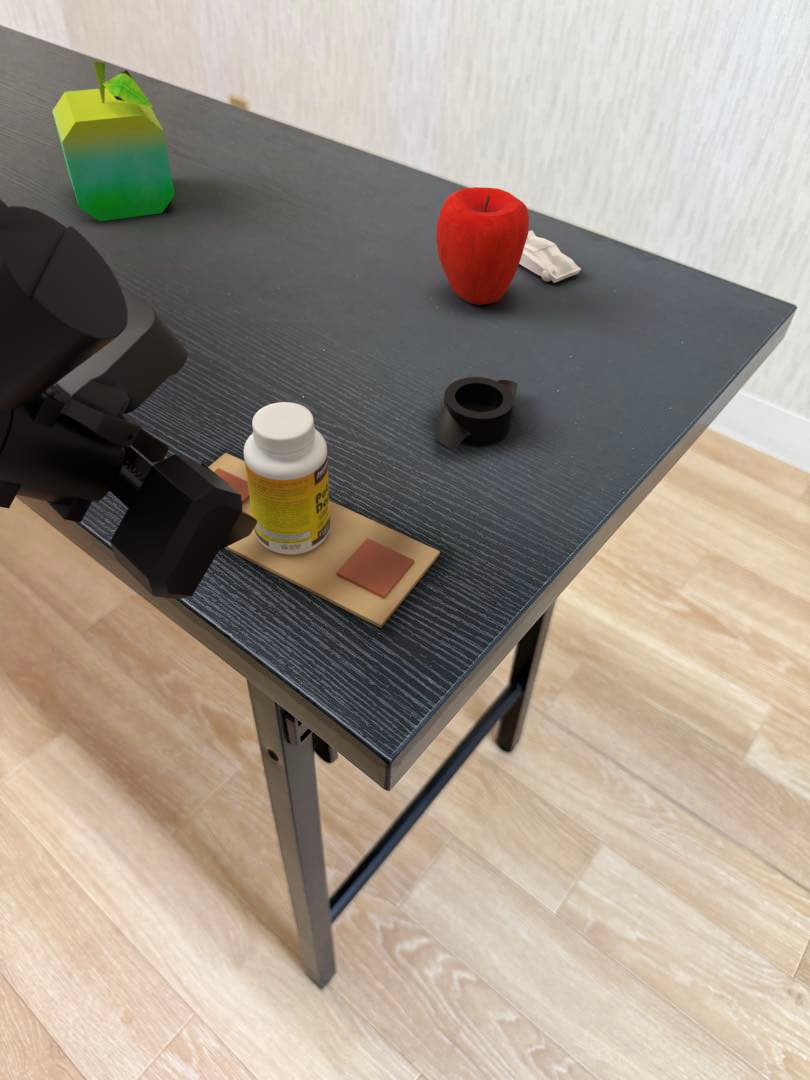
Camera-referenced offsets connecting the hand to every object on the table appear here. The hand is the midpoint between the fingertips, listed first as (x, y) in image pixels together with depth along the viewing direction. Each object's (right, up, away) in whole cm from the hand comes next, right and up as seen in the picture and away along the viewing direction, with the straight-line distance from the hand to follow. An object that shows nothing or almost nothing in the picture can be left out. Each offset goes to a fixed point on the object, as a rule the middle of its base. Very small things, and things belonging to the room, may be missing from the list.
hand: (206, 488), depth 50 cm
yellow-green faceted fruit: (-22, +38, +47) cm, 64 cm away
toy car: (+28, +27, +39) cm, 55 cm away
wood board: (+4, -3, +9) cm, 11 cm away
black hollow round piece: (+18, +7, +19) cm, 27 cm away
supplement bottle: (+4, -3, +9) cm, 10 cm away
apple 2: (+20, +22, +34) cm, 45 cm away
